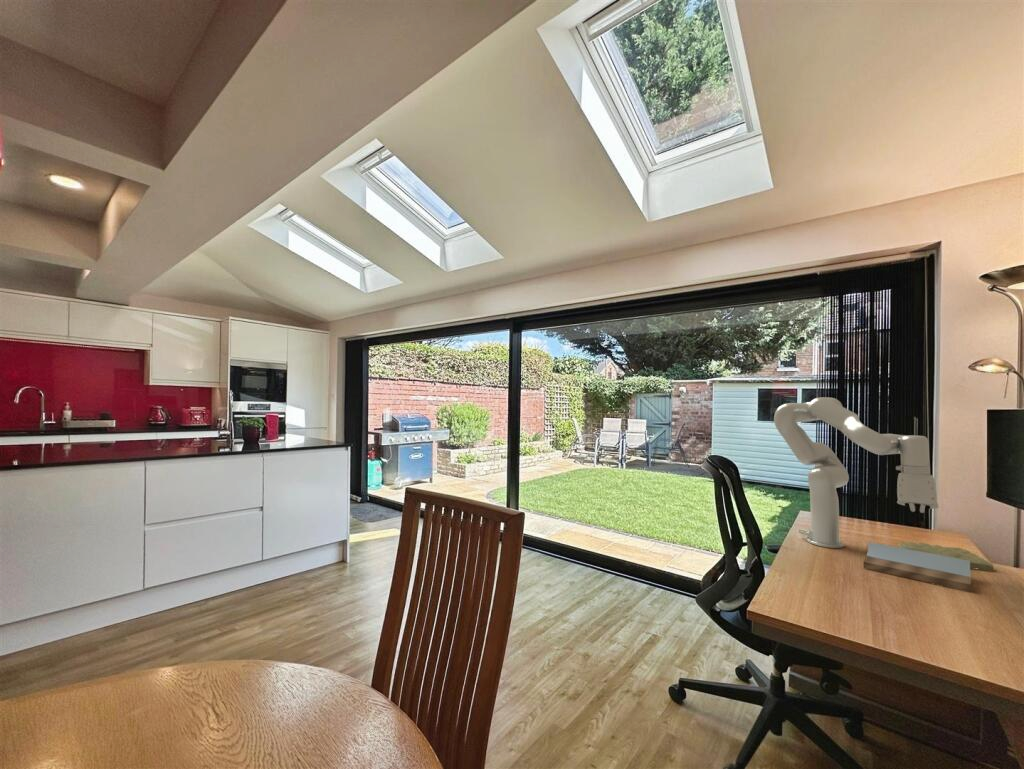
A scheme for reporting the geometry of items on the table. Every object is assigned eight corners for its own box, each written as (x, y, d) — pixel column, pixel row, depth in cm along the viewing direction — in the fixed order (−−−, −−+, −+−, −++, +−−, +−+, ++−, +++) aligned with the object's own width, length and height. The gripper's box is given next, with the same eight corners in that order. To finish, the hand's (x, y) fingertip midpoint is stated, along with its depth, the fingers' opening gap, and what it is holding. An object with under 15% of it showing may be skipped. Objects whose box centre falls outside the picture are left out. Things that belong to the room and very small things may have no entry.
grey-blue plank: (867, 560, 159) (866, 555, 159) (869, 546, 164) (869, 541, 164) (970, 582, 141) (970, 577, 140) (969, 565, 146) (969, 560, 145)
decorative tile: (994, 572, 151) (994, 562, 151) (922, 565, 158) (921, 555, 158) (960, 554, 169) (960, 545, 169) (896, 548, 175) (896, 539, 175)
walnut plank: (863, 568, 153) (863, 561, 153) (866, 562, 158) (866, 556, 158) (971, 592, 134) (971, 584, 134) (970, 584, 140) (970, 577, 140)
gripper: (886, 469, 157) (889, 521, 156) (945, 473, 146) (948, 529, 145) (888, 467, 162) (891, 517, 161) (945, 471, 152) (948, 525, 151)
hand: (918, 523), depth 153 cm, fingers closed
